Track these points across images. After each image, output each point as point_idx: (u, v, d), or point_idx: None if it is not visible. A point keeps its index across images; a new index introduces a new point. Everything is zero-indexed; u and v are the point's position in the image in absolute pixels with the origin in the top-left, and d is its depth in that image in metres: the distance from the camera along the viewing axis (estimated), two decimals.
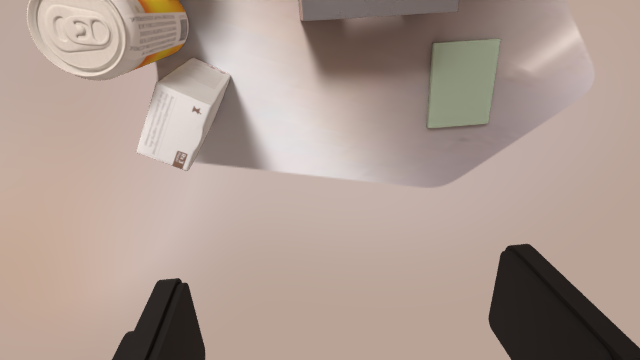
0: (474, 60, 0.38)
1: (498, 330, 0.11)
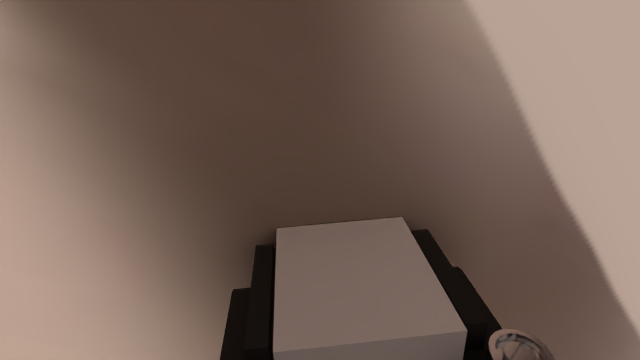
0: None
1: None
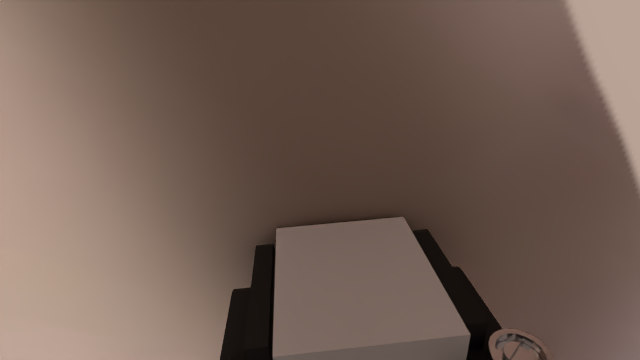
0: None
1: None
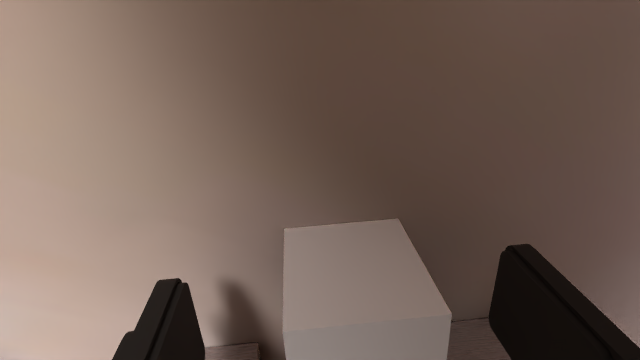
0: None
1: (498, 330, 0.11)
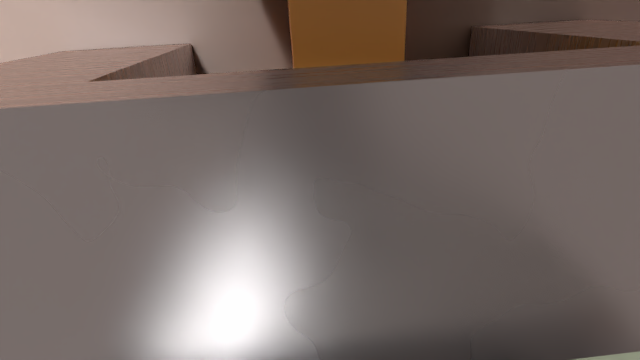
0: None
1: None
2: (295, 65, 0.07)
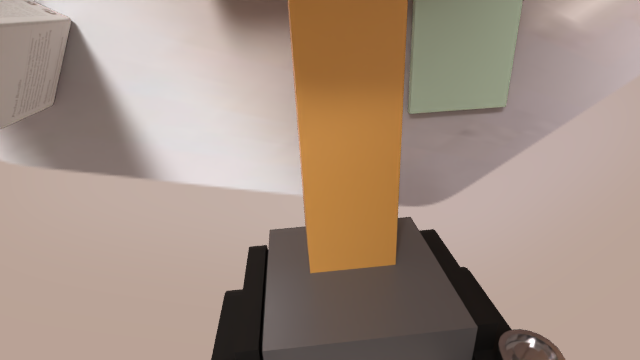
0: None
1: None
2: (295, 64, 0.07)
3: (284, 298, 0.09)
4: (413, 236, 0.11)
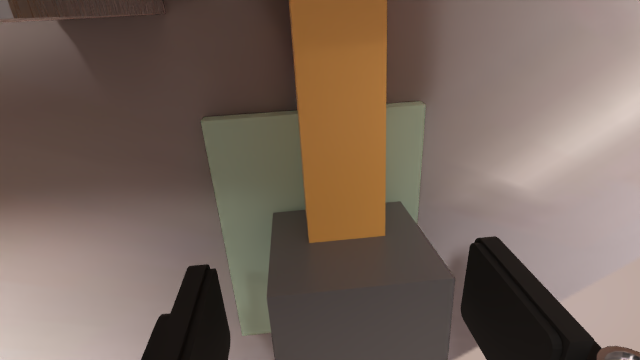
0: None
1: (468, 320, 0.11)
2: (295, 53, 0.09)
3: (286, 261, 0.10)
4: (402, 215, 0.12)
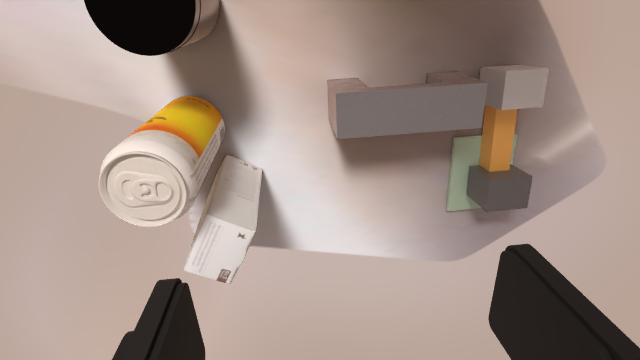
0: None
1: (498, 330, 0.11)
2: (494, 124, 0.37)
3: (487, 174, 0.38)
4: (510, 165, 0.40)
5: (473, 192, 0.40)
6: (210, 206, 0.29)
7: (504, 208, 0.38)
